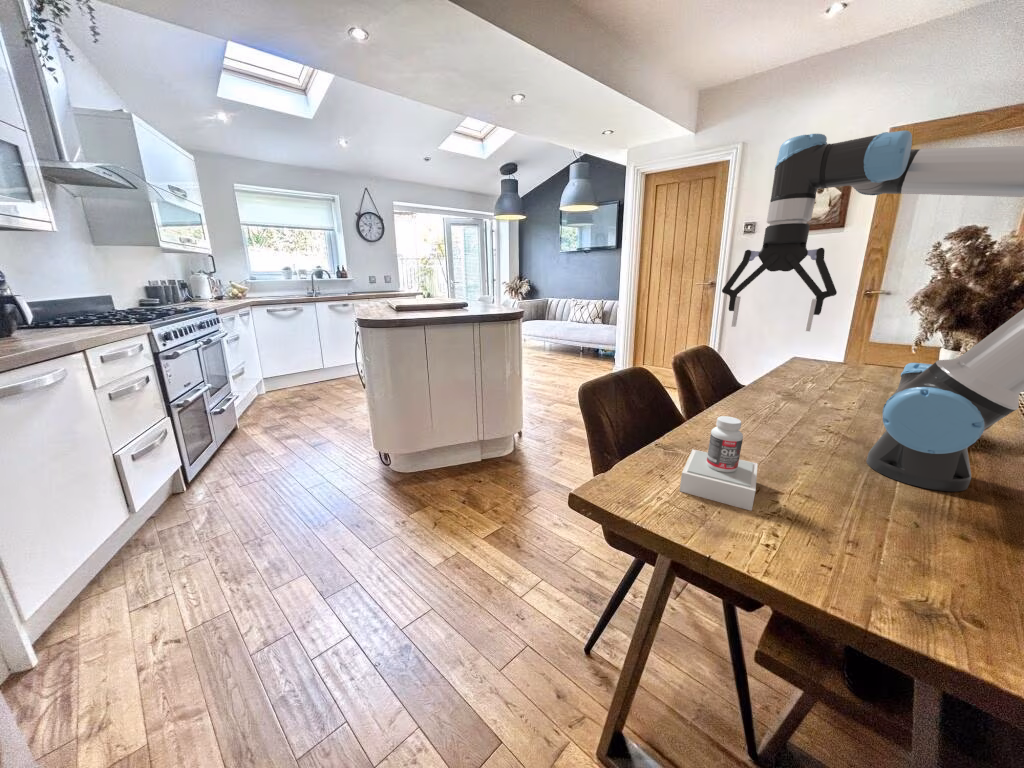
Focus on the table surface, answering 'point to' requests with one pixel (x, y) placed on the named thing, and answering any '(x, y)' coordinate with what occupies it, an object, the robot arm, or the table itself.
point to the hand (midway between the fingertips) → (769, 328)
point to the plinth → (720, 481)
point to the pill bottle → (725, 444)
